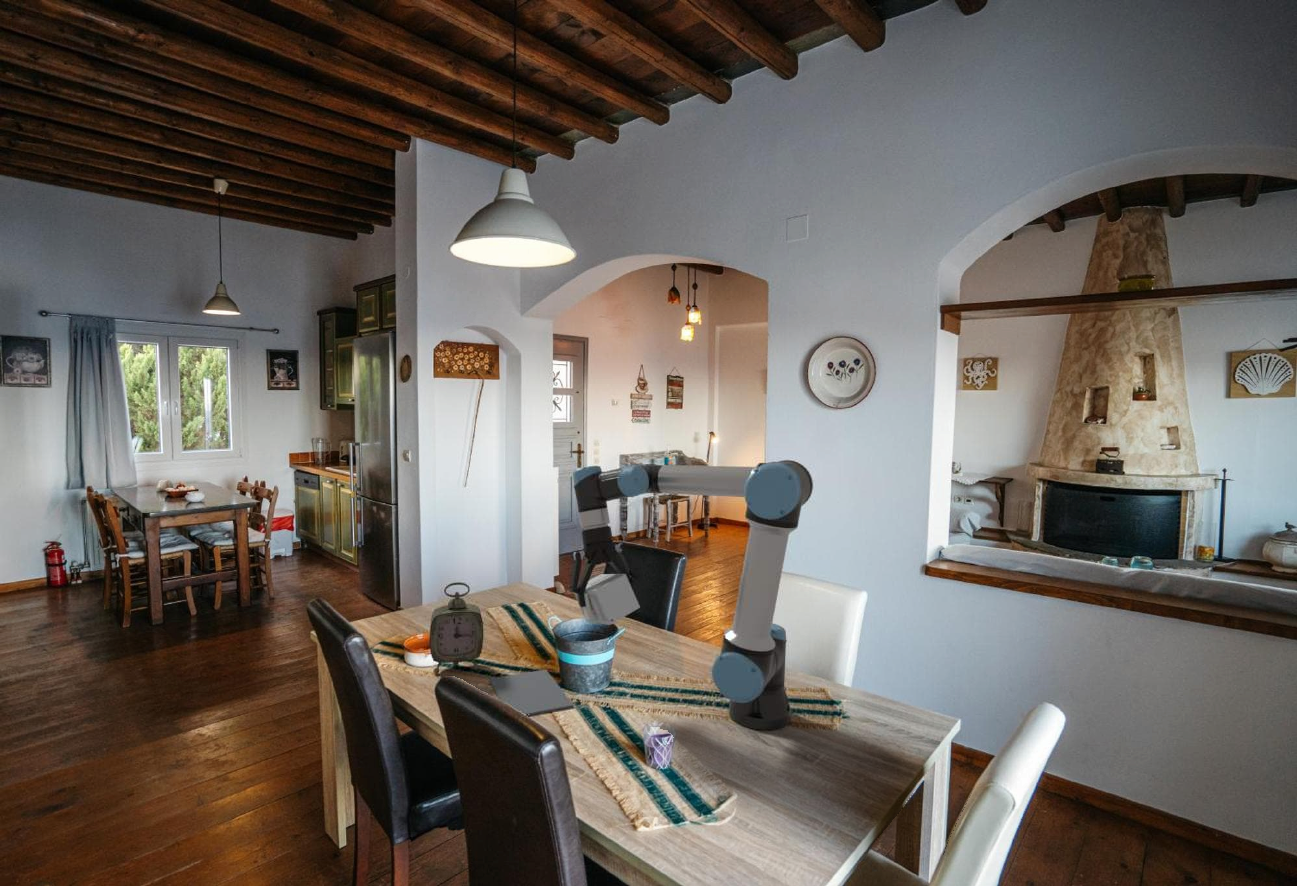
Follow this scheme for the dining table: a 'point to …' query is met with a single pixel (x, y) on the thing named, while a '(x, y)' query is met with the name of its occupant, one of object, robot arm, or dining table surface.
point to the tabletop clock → (456, 631)
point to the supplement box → (610, 598)
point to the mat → (531, 692)
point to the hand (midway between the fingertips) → (609, 614)
